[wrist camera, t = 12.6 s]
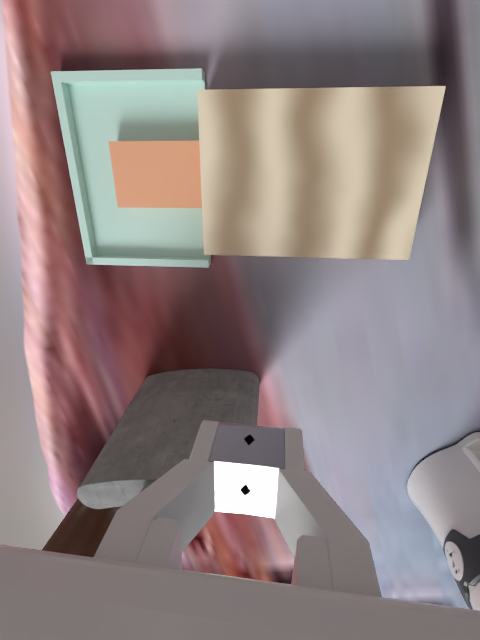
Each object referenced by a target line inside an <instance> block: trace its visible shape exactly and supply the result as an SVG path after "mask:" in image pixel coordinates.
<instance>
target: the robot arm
mask: <svg viewBox="0 0 480 640" xmlns="http://www.w3.org/2000/svg"><path fill="white" fill-rule="evenodd" d="M407 489H408V494H409V497H410V499H411V500H412V502H413V503H414V504H415V505H416V507H417V508H418V509H419V510H420V512H421V513H422V514H423V516H424V517H425V519H426V520H427V522H428V523H429V525H430V526H431V528H432V529H433V531H434V533H435V535H436V536H437V538H438V540H439V541H440V543H441V545H442V547H443V550H444V554H445V556H446V559H447V562H448V565H449V567H450V570H451V572H452V574H453V576H454V578H455V581H456V583H457V585H458V587H459V589H460V591H461V594H462V596H463V598H464V600H465V602H466V604H467V606H468V607H469V609H464V608H457V607H450V606H442V605H435V604H428V603H421V602H413V601H406V600H399V599H392V598H384V597H382V596H381V592H380V588H379V583H378V579H377V575H376V571H375V566H374V562H373V558H372V554H371V549H370V545H369V542H368V540H367V539H366V538H365V537H364V536H363V534H362V533H361V532H360V531H359V530H358V528H357V527H356V526H355V525H354V524H353V522H352V521H351V520H350V519H349V518H348V517H347V515H346V514H345V513H344V512H343V511H342V509H341V508H340V507H339V506H338V505H337V503H336V502H335V501H334V500H333V499H332V497H331V496H330V495H329V494H328V493H327V491H326V490H325V489H324V488H323V487H322V485H321V484H320V483H319V482H318V481H317V479H316V478H315V477H314V476H313V475H312V474H311V472H305V463H304V450H303V438H302V430H301V429H296V428H278V427H267V426H255V425H246V424H237V423H229V422H218V421H209V420H203V421H202V423H201V425H200V428H199V431H198V434H197V437H196V440H195V443H194V446H193V449H192V452H191V455H190V458H189V459H184V460H182V461H181V462H180V463H178V464H177V465H176V466H174V467H173V468H172V469H170V470H169V471H168V472H167V473H165V474H164V475H163V476H161V477H160V478H159V479H157V480H156V481H155V482H153V483H152V484H151V485H150V486H148V487H147V488H146V489H144V490H143V491H142V492H140V493H139V494H138V495H136V496H135V497H134V498H132V499H131V500H130V501H129V502H127V503H126V504H125V505H123V506H122V507H121V508H119V509H118V510H117V511H116V513H115V515H114V517H113V519H112V521H111V523H110V525H109V527H108V529H107V531H106V533H105V535H104V537H103V539H102V541H101V543H100V545H99V547H98V549H97V551H96V553H95V555H94V557H87V556H79V555H72V554H65V553H58V552H50V551H43V550H36V549H28V548H21V547H14V546H7V545H0V640H480V432H475V433H472V434H470V435H468V436H467V437H465V438H464V439H463V440H461V441H460V442H459V443H458V444H456V445H454V446H452V447H449V448H447V449H444V450H441V451H439V452H436V453H434V454H432V455H431V456H429V457H427V458H426V459H424V460H423V461H422V462H421V463H420V464H418V465H417V467H416V468H415V469H414V470H413V472H412V473H411V475H410V477H409V480H408V485H407ZM215 511H219V512H230V513H241V514H249V515H256V516H263V517H269V518H275V522H276V524H277V525H278V527H279V529H280V531H281V533H282V535H283V537H284V539H285V541H286V543H287V545H288V547H289V549H290V550H291V552H292V554H293V556H294V558H295V560H294V568H293V575H292V583H291V585H290V584H282V583H275V582H268V581H260V580H253V579H246V578H239V577H231V576H224V575H217V574H209V573H202V572H195V571H187V570H183V567H182V551H183V550H184V549H185V548H186V547H187V545H188V544H189V543H190V542H191V541H192V539H193V538H194V537H195V536H196V535H197V534H198V532H199V531H200V530H201V529H202V528H203V526H204V525H205V524H206V523H207V522H208V520H209V519H210V518H211V517H212V516H213V514H214V513H215Z"/></svg>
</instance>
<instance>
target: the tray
mask: <svg viewBox="0 0 480 640" xmlns="http://www.w3.org/2000/svg"><path fill="white" fill-rule="evenodd" d="M51 76H52V81H53V86H54V92H55V97H56V102H57V108H58V113H59V119H60V124H61V129H62V135H63V140H64V145H65V151H66V156H67V161H68V167H69V172H70V178H71V183H72V188H73V194H74V199H75V204H76V210H77V215H78V220H79V226H80V231H81V237H82V242H83V247H84V253H85V258H86V263H87V264H96V265H131V266H167V267H202V268H209V267H210V265H211V255H204V245H203V220H202V208H118V205H117V198H116V191H115V184H114V177H113V170H112V163H111V156H110V149H109V142H108V141H195V140H199V122H198V97H197V90H206V87H205V72H204V71H203V70H202V68H198V69H149V70H100V71H52V72H51Z"/></svg>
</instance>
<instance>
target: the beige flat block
mask: <svg viewBox="0 0 480 640" xmlns="http://www.w3.org/2000/svg"><path fill="white" fill-rule="evenodd" d="M445 88H446V86H409V87H344V88H278V89H213V90H197V97H198V122H199V146H200V171H201V196H202V220H203V245H204V255H234V256H274V257H314V258H354V259H393V260H409V258H410V253H411V248H412V243H413V239H414V234H415V229H416V225H417V220H418V215H419V210H420V206H421V201H422V196H423V192H424V187H425V182H426V177H427V173H428V168H429V163H430V158H431V154H432V149H433V144H434V140H435V135H436V130H437V125H438V121H439V116H440V111H441V107H442V102H443V97H444V92H445Z"/></svg>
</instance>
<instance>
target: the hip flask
mask: <svg viewBox="0 0 480 640" xmlns="http://www.w3.org/2000/svg"><path fill="white" fill-rule="evenodd" d="M259 385H260V380H259V377H258V376H257V375H256V374H255V373H253V372H250V371H243V370H234V369H215V368H206V369H186V370H176V371H169V372H163V373H158V374H154V375H150V376H148V377H146V378H145V380H144V382H143V383H142V385H141V387H140V388H139V390H138V392H137V393H136V395H135V396H134V398H133V400H132V401H131V403H130V405H129V406H128V408H127V410H126V411H125V413H124V414H123V416H122V418H121V419H120V421H119V423H118V424H117V426H116V428H115V429H114V431H113V432H112V434H111V436H110V437H109V439H108V441H107V442H106V444H105V446H104V447H103V449H102V451H101V452H100V454H99V455H98V457H97V459H96V460H95V462H94V464H93V465H92V467H91V469H90V470H89V472H88V473H87V475H86V477H85V478H84V480H83V482H82V483H81V485H80V487H79V488H78V490H77V497H78V499H79V500H80V501H81V502H82V503H83V504H84V505H86V506H88V507H90V508H93V509H105V508H112V507H120V506H123V505H125V504H126V503H127V502H129V501H130V500H131V499H132V498H134V497H135V496H136V495H138V494H139V493H140V492H142V491H143V490H144V489H146V488H147V487H148V486H150V485H151V484H152V483H153V482H155V481H156V480H157V479H159V478H160V477H161V476H163V475H164V474H165V473H167V472H168V471H169V470H170V469H172V468H173V467H174V466H176V465H177V464H178V463H180V462H181V461H182V460H184V459H189V458H190V455H191V452H192V449H193V446H194V443H195V440H196V437H197V434H198V431H199V428H200V425H201V423H202V421H203V420H209V421H218V422H229V423H237V424H246V425H255V426H257V415H258V400H259Z"/></svg>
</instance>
